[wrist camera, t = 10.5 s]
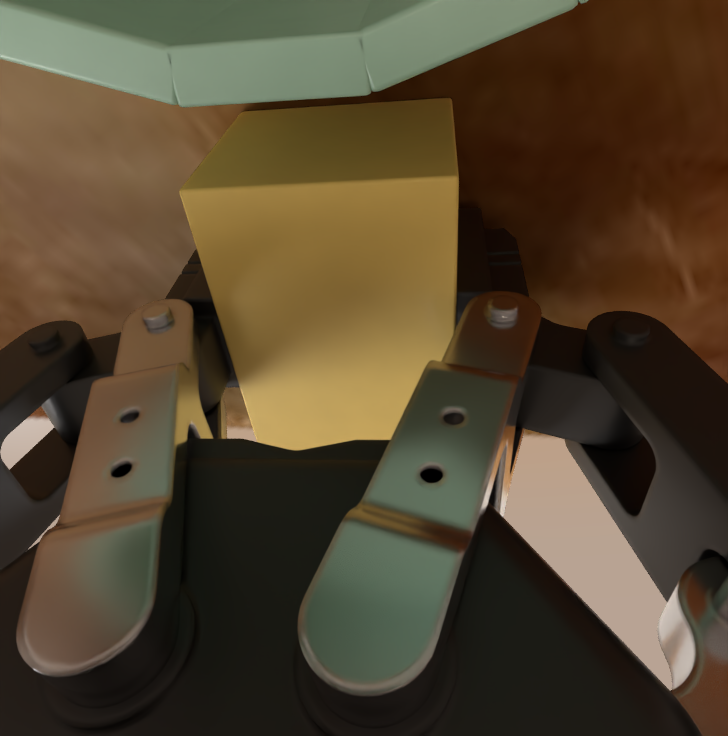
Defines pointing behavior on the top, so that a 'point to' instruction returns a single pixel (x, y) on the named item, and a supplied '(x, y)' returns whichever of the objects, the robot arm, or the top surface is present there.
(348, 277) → the cheese
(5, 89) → the top surface
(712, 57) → the top surface
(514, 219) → the top surface
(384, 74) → the pan
